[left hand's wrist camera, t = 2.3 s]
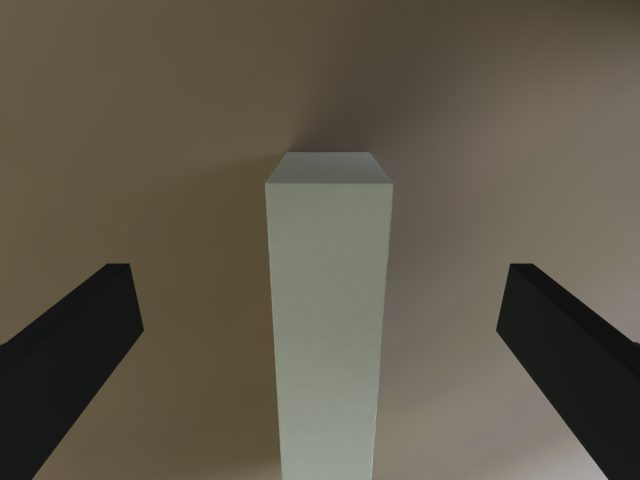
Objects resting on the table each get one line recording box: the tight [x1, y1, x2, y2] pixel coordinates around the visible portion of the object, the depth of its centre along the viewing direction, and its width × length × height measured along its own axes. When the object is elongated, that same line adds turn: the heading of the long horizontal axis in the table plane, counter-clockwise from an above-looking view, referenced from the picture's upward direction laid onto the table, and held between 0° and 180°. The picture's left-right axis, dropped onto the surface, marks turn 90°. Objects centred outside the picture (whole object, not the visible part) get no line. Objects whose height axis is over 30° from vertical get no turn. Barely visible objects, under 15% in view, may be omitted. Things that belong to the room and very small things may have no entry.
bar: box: [265, 152, 394, 480], centre depth 24 cm, size 26×5×9 cm, turn 0°
